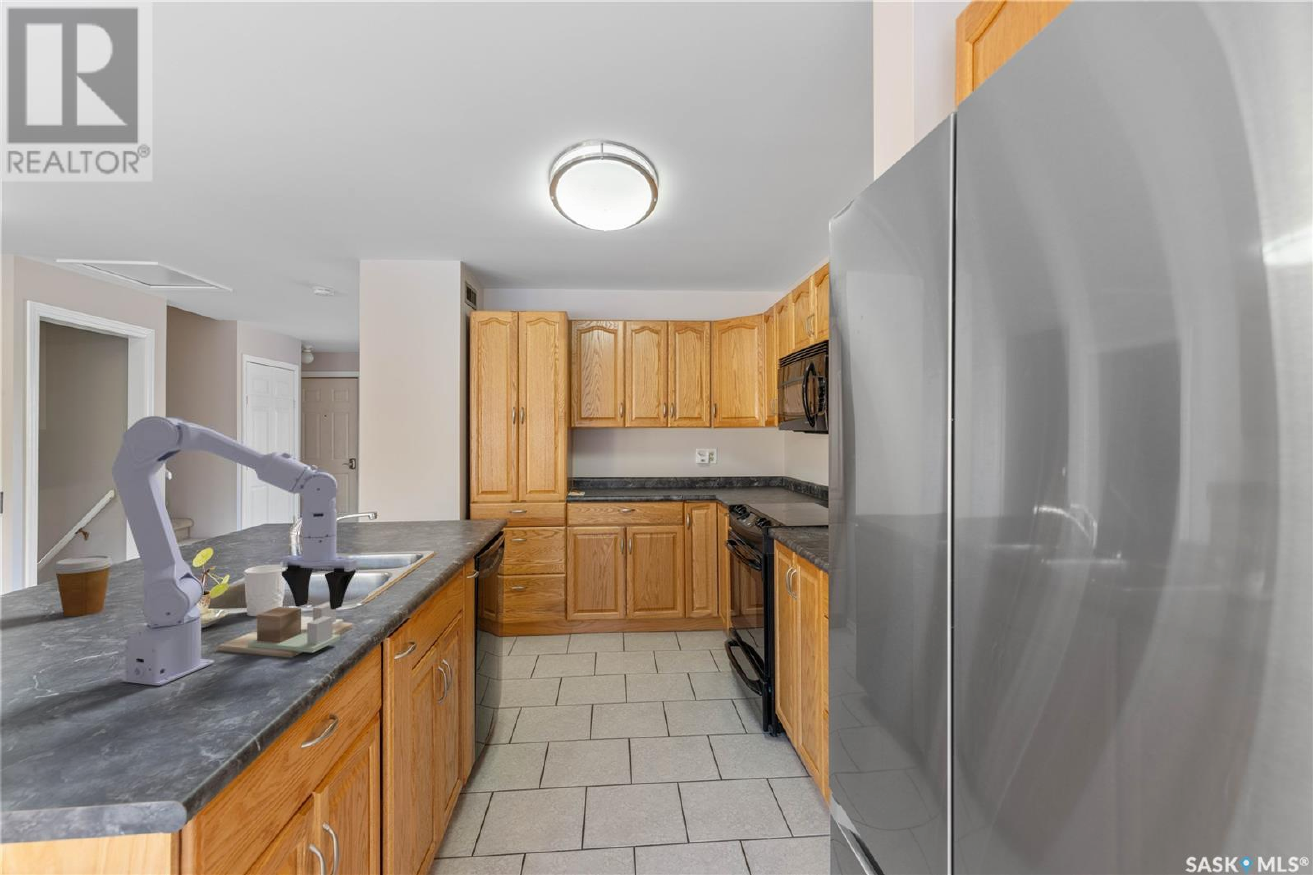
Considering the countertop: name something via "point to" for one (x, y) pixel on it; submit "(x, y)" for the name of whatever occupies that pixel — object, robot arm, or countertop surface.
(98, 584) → the disposable coffee cup
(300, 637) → the green strip
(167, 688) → the countertop surface
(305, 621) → the white strip
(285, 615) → the walnut block
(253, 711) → the countertop surface
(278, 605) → the white cup
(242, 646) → the base
